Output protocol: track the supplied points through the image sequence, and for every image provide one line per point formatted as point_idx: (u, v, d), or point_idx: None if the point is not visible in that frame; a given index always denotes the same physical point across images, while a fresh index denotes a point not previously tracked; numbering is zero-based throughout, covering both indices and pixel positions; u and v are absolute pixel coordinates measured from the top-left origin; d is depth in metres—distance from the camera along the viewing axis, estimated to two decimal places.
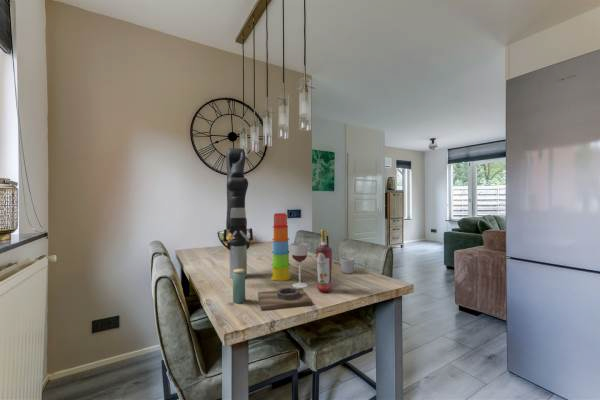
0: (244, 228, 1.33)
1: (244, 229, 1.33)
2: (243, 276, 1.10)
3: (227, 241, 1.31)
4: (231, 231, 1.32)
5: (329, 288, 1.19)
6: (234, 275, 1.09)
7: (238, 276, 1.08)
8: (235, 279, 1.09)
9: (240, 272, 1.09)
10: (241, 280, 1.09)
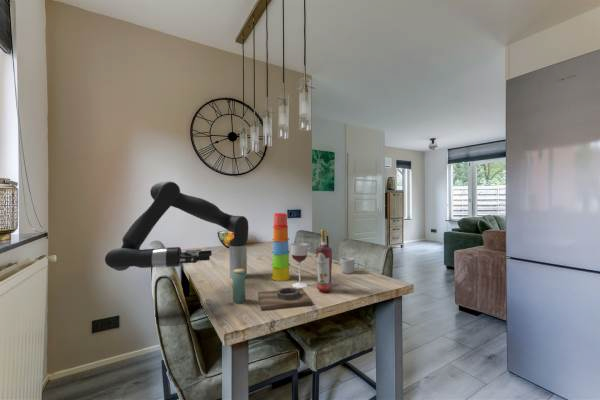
0: None
1: None
2: (243, 276, 1.10)
3: None
4: None
5: (329, 288, 1.19)
6: (234, 275, 1.09)
7: (238, 276, 1.08)
8: (235, 279, 1.09)
9: (240, 272, 1.09)
10: (241, 280, 1.09)
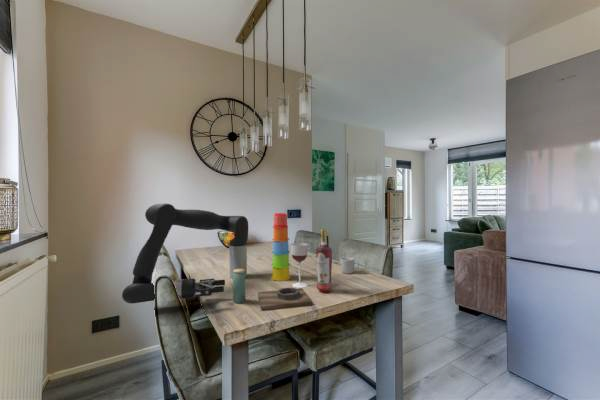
0: None
1: None
2: (243, 276, 1.10)
3: None
4: None
5: (329, 288, 1.19)
6: (234, 275, 1.09)
7: (238, 276, 1.08)
8: (235, 279, 1.09)
9: (240, 272, 1.09)
10: (241, 280, 1.09)
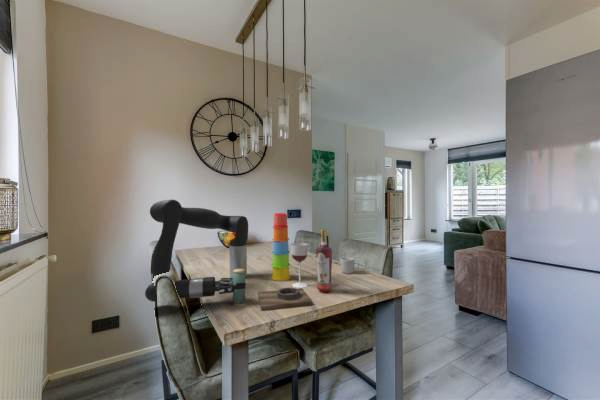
0: None
1: None
2: (243, 276, 1.10)
3: None
4: None
5: (329, 288, 1.19)
6: (234, 275, 1.09)
7: (238, 276, 1.08)
8: (235, 279, 1.09)
9: (240, 272, 1.09)
10: (241, 280, 1.09)
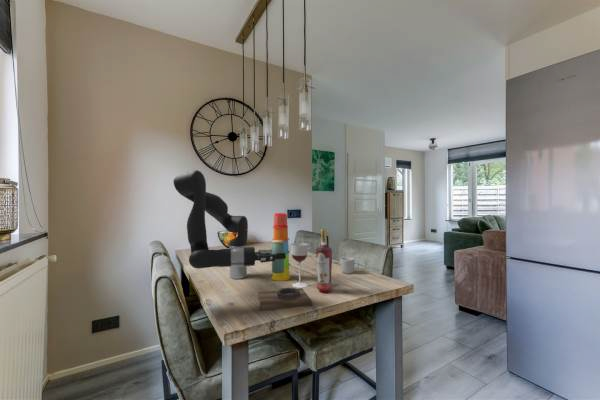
0: None
1: None
2: (282, 246, 1.10)
3: None
4: None
5: (329, 288, 1.19)
6: (274, 245, 1.09)
7: (278, 246, 1.09)
8: (275, 249, 1.09)
9: (280, 242, 1.09)
10: (281, 250, 1.09)
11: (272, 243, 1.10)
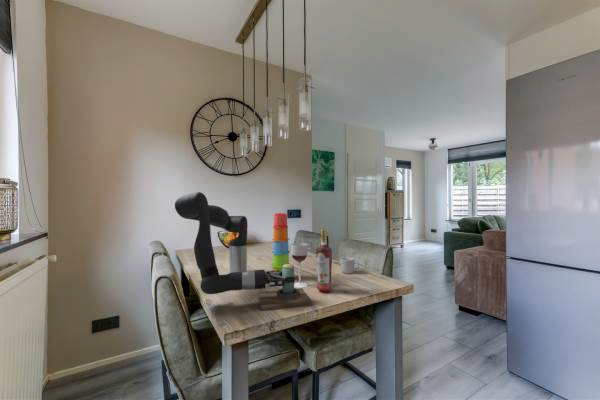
0: None
1: None
2: (293, 271, 1.10)
3: None
4: None
5: (329, 288, 1.19)
6: (284, 270, 1.09)
7: (288, 271, 1.09)
8: (285, 274, 1.09)
9: (290, 267, 1.09)
10: (291, 275, 1.09)
11: (283, 268, 1.10)
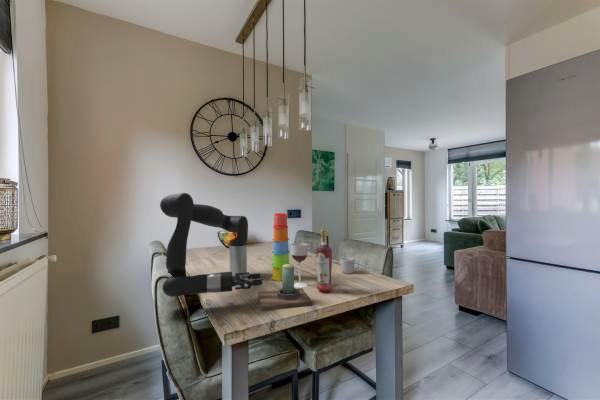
0: None
1: None
2: (293, 271, 1.10)
3: None
4: None
5: (329, 288, 1.19)
6: (284, 270, 1.09)
7: (288, 271, 1.09)
8: (285, 274, 1.09)
9: (290, 267, 1.10)
10: (291, 275, 1.10)
11: (283, 268, 1.10)
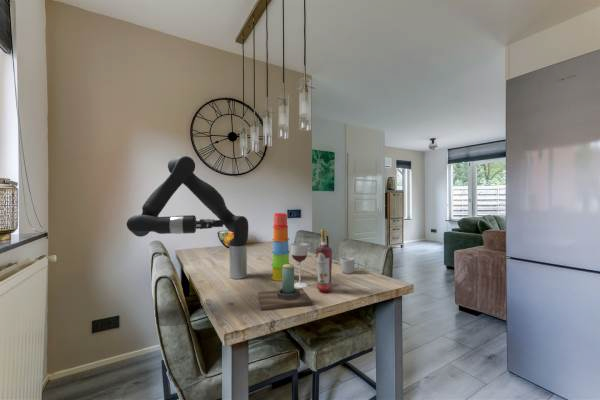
0: None
1: None
2: (293, 271, 1.10)
3: None
4: None
5: (329, 288, 1.19)
6: (284, 270, 1.09)
7: (289, 271, 1.09)
8: (286, 274, 1.09)
9: (290, 267, 1.10)
10: (291, 275, 1.10)
11: (283, 268, 1.10)
